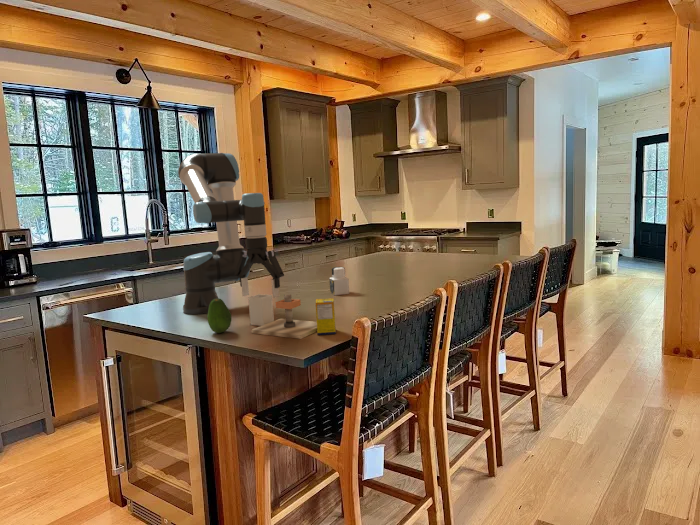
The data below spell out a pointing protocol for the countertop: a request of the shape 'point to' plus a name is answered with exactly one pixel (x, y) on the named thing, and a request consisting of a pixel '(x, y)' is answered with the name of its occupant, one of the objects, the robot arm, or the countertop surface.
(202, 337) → the countertop surface
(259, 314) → the sleeve
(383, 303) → the countertop surface
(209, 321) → the avocado
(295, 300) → the ring
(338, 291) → the medicine bottle
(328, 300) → the supplement box
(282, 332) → the pipe stand
